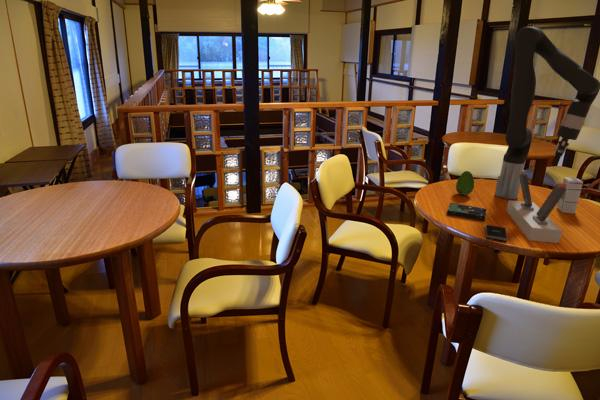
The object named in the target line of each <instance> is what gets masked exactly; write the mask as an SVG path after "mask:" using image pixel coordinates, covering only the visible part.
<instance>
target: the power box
mask: <svg viewBox="0 0 600 400" xmlns="http://www.w3.org/2000/svg"><path fill="white" fill-rule="evenodd" d="M506 206H507V207H506V213H507V214H508V216H509V217H510V218H511V219H512V220H513V221H514V223H515V224H516V226H518V228H519V230H521V232H522V233H523V234H524V236H525V237H526V238H527V240H529V241H532V242H535V241H536V242H542V243H543V242H544V243H553V244H560V241H561V237H562V234H563V230H562V228H560V227H559V226H558V225H557V224H556V222H554V221H553V220H552V219H551V218H550V217H549V216H548V217H547V218H546V220H545V221H542V220H541V219H540V218H539V217H538V216H537V215H536V214H537V212H538V211H539V209H540V208H541V207H539V206H538V205H537V204H536V203H535V202H532V206H531V207H528V206H527V205H526V204H525V203H524V201H518V200H508V202H507V205H506Z"/></svg>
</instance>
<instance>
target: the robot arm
mask: <svg viewBox="0 0 600 400" xmlns="http://www.w3.org/2000/svg"><path fill="white" fill-rule="evenodd" d="M535 54H537V55H538V56H540V57H541V58H542V59H543V60H544V61H545V62H546V63H547V64H548V65H549V67H550V68H551V69H552V71H554V72H555V73H556V74H557V75H559V77H560V78H562V79H563V80H564V81H566V82H567V83H569V84H570V85H571V87H572V88H574V89H575V90H576V91H577V93H576V96H575V98H574V99H573V100H572V101H571V102H570V104H569V106H568V108H567V111H566V113H565V115H564V117H563V119H562V120H561V122H560V125H559V128H558V130H557V132H556V137H560V138H561V139H560V140H558V142H557V144H556V148H555V153H554V156H553V159H552V162H551V165H553V166H558V165H559V162H560V160H561V157H563V156H564V155H563V154H565V153H566V150H567V149H568V148H569V145H570V143H569V140H571V141H572V140H573V141H577V139H578V137H579V135H580V133H581V130H582V128H583V126H584V123H585V120H586V119H587V116H588V113H589V111H590V109H591V106H592V104H593V103H594V101H595V99H596V97H597V96H598V94H599V92H600V81H599V79H598V78H597V77H594V76H593V75H592V74H590V73H589V72H587V71H586V70H585V69H584V68H582V66H581V65H580V64H579V63H577V61H574V60H573V59H572V58H571V57H570V56H568V55H567V54H566V53H564V52H563V51H562V50H560V48H559V47H557V46H556V45H555V44H554V43H553V41H551V40H550V38H549V37H548V36H547V34H545V32H544V31H543V30H542V29H541V28H540V27H535V26H524V27H522V28H521V29H520V30H519V31H518V32H517V34H516V36H515V40H514V67H513V75H512V85H511V91H510V92H511V93H510V94H511V95H510V106H509V118H508V123H507V128H506V132H505V143H506V144H507V146H508V147H507V149H506V151H505V153H504V154H503V159H502V163H501V167H500V168H501V169H500V174H499V176H498V177H497V181H496V187H495V191H494V196H496V197H499V198H502V199H504V200H505V199H506V200H517V199H518V197H519V191H520V188H521V183H520V178H519V171H520V170H525V169H524V168H525V164H526V161H527V158H528V156H529V152H530V150H531V149H530V148H531V144H532V139H533V134H532V131H531V130H530V128H529V127H528V124H527V123H528V117H529V113H530V110H531V107H532V106H533V102H534V100H535V94H536V88H537V87H536V86H537V76H536V71H535V67H534V58H535V57H534V56H535Z"/></svg>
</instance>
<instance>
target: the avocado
mask: <svg viewBox="0 0 600 400" xmlns="http://www.w3.org/2000/svg"><path fill="white" fill-rule="evenodd" d="M455 188H456V192H457V193H458V194H459V195H461V196H467V195H471V193H472V192H473V191H474V188H475V179H474V176H473V173H472V172H470V171H469V170H465V171H463V172H462V173H461V174H460V176H459V177H458V179H457V180H456V183H455Z"/></svg>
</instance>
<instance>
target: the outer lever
mask: <svg viewBox="0 0 600 400" xmlns="http://www.w3.org/2000/svg"><path fill="white" fill-rule="evenodd" d="M566 187H567V186H566V184H565V183H563V181H561V182H559V183H556V184H555V186H554V187H553V189H552V190H551V192H550V193H549V194H548V196H547V197H546V199H545V200H544V202H543V203H542V204H541V206H540V207H539V208H540V209H539V211H538V212H537V214H536V215H537V216H538V217H539V218H540V219H541V220H542V221H545V220H546V218H547V217H549V215H550V214H551V213H552V211H553V210H554V208H555V207H557V205H558V201H559V200H560V198H561V197H562V196H563V194H564V193H565V191H566V190H567V189H566Z"/></svg>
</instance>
